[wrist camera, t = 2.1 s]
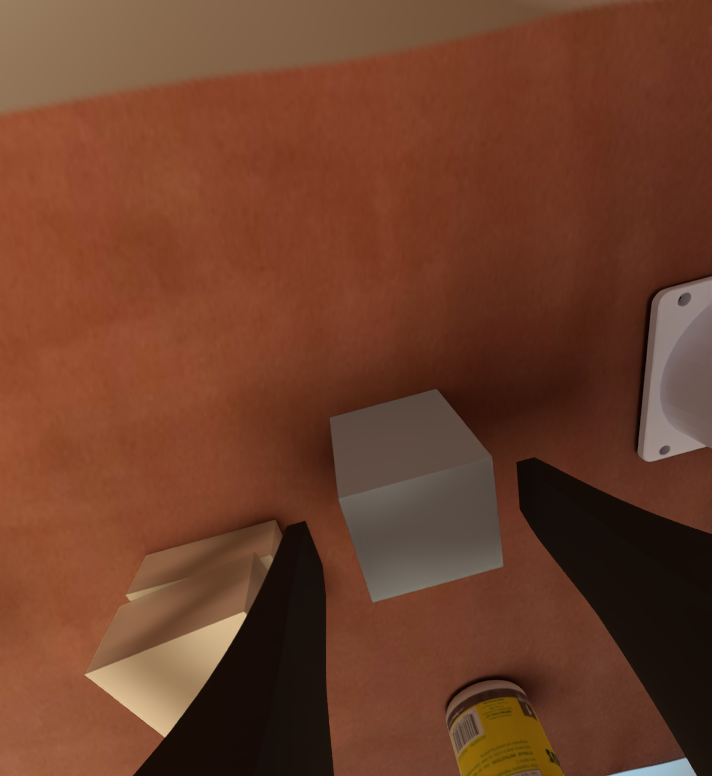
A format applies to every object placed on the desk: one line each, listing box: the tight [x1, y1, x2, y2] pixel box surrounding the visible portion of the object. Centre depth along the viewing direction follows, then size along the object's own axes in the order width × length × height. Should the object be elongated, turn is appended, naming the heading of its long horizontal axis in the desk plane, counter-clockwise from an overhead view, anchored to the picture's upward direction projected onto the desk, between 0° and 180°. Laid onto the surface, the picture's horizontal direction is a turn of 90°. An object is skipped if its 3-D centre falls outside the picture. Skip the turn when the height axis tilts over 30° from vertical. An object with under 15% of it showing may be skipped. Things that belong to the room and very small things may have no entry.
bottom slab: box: [126, 520, 282, 601], centre depth 17 cm, size 6×6×2 cm
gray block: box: [330, 389, 503, 602], centre depth 14 cm, size 4×4×5 cm
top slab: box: [85, 552, 268, 737], centre depth 15 cm, size 6×6×2 cm
